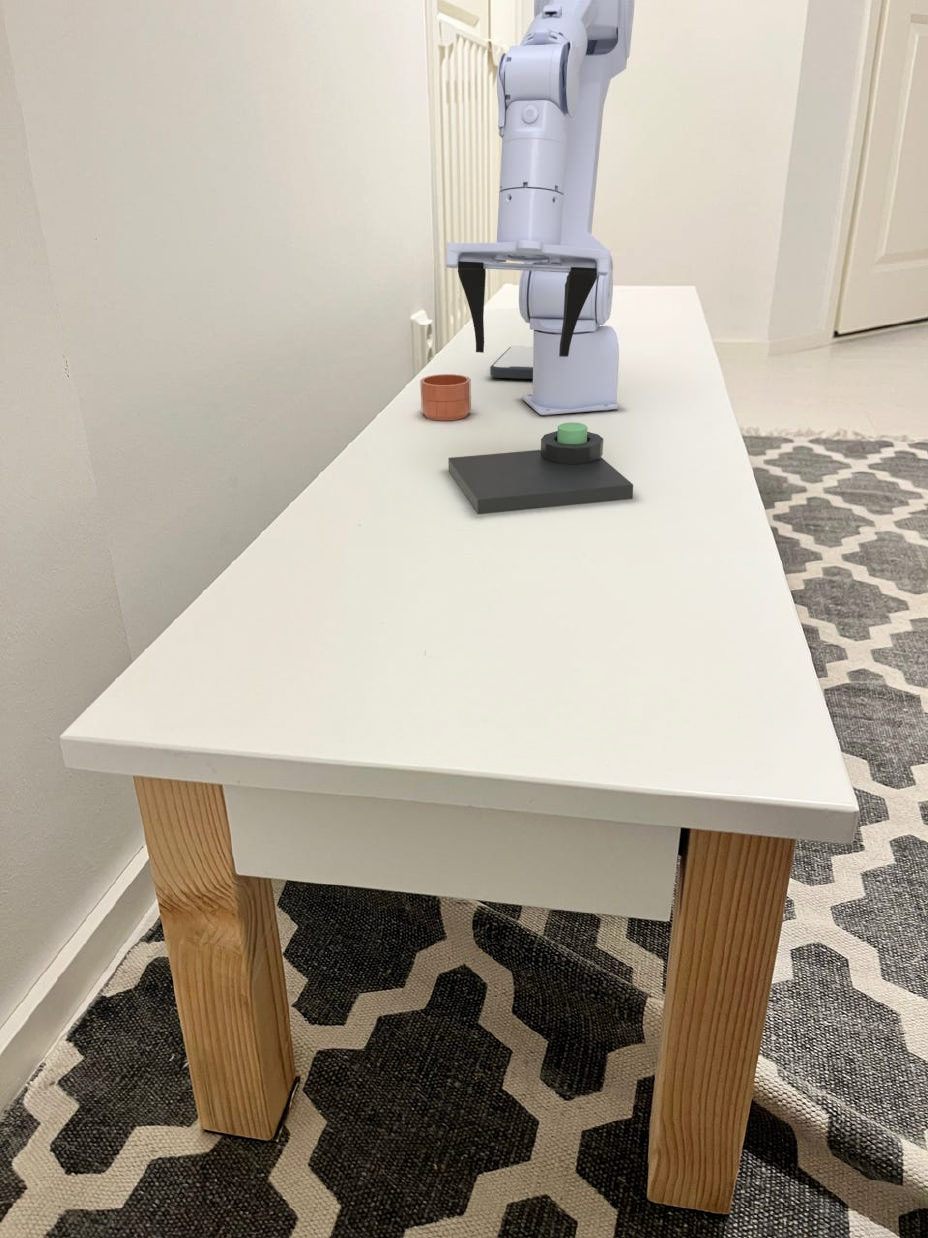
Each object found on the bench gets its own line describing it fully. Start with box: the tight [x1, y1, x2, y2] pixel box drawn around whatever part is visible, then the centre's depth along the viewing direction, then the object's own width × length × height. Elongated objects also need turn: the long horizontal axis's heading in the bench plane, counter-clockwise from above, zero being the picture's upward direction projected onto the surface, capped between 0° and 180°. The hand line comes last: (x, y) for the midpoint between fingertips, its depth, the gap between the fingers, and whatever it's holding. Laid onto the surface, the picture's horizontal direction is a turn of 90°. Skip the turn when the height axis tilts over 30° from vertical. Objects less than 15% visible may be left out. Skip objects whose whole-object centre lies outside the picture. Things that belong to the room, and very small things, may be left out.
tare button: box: [557, 422, 588, 444], centre depth 92 cm, size 3×3×2 cm
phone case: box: [489, 345, 533, 380], centre depth 131 cm, size 9×2×16 cm
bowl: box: [419, 373, 472, 422], centre depth 110 cm, size 6×6×4 cm
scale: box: [447, 430, 634, 515], centre depth 89 cm, size 14×12×3 cm
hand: (521, 354), depth 89 cm, fingers open, 7 cm apart
